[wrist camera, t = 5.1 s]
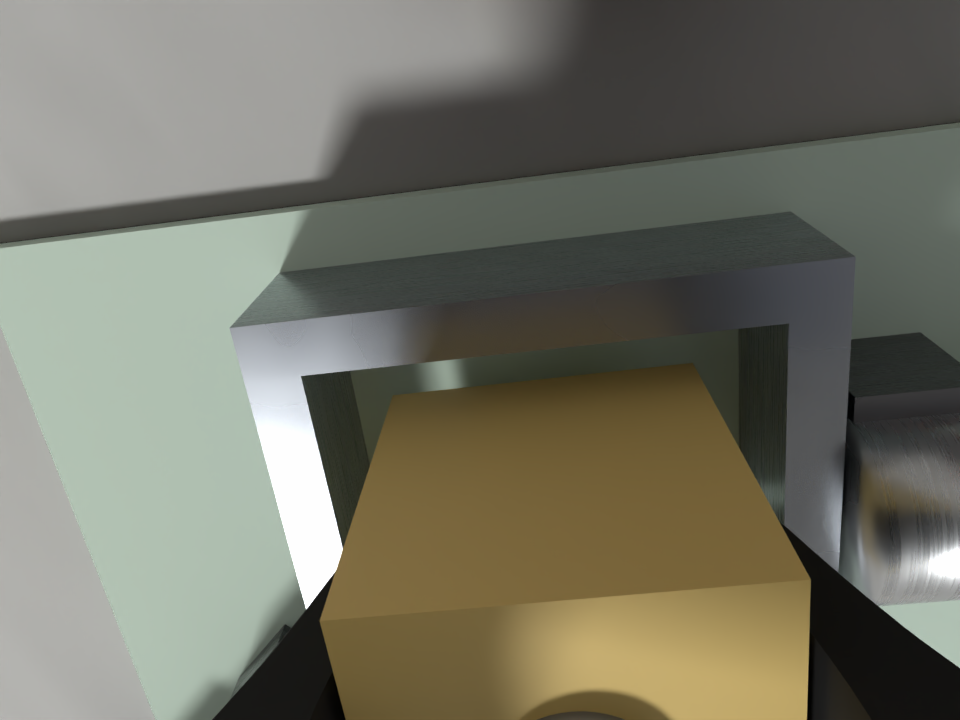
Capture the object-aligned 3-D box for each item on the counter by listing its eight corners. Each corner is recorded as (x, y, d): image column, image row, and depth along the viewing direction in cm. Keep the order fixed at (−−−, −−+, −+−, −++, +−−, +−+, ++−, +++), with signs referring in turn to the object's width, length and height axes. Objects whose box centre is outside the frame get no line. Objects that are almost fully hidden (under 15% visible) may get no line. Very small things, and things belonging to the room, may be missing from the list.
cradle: (782, 205, 13) (855, 256, 10) (775, 610, 16) (830, 730, 13) (285, 265, 13) (229, 327, 11) (374, 641, 16) (348, 761, 14)
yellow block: (701, 607, 13) (811, 939, 8) (437, 629, 14) (397, 958, 9) (692, 362, 12) (823, 601, 7) (392, 395, 12) (312, 643, 7)
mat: (1419, 64, 11) (1449, 66, 11) (1182, 824, 18) (1197, 841, 17) (-14, 245, 13) (-30, 251, 13) (228, 875, 20) (223, 892, 19)
